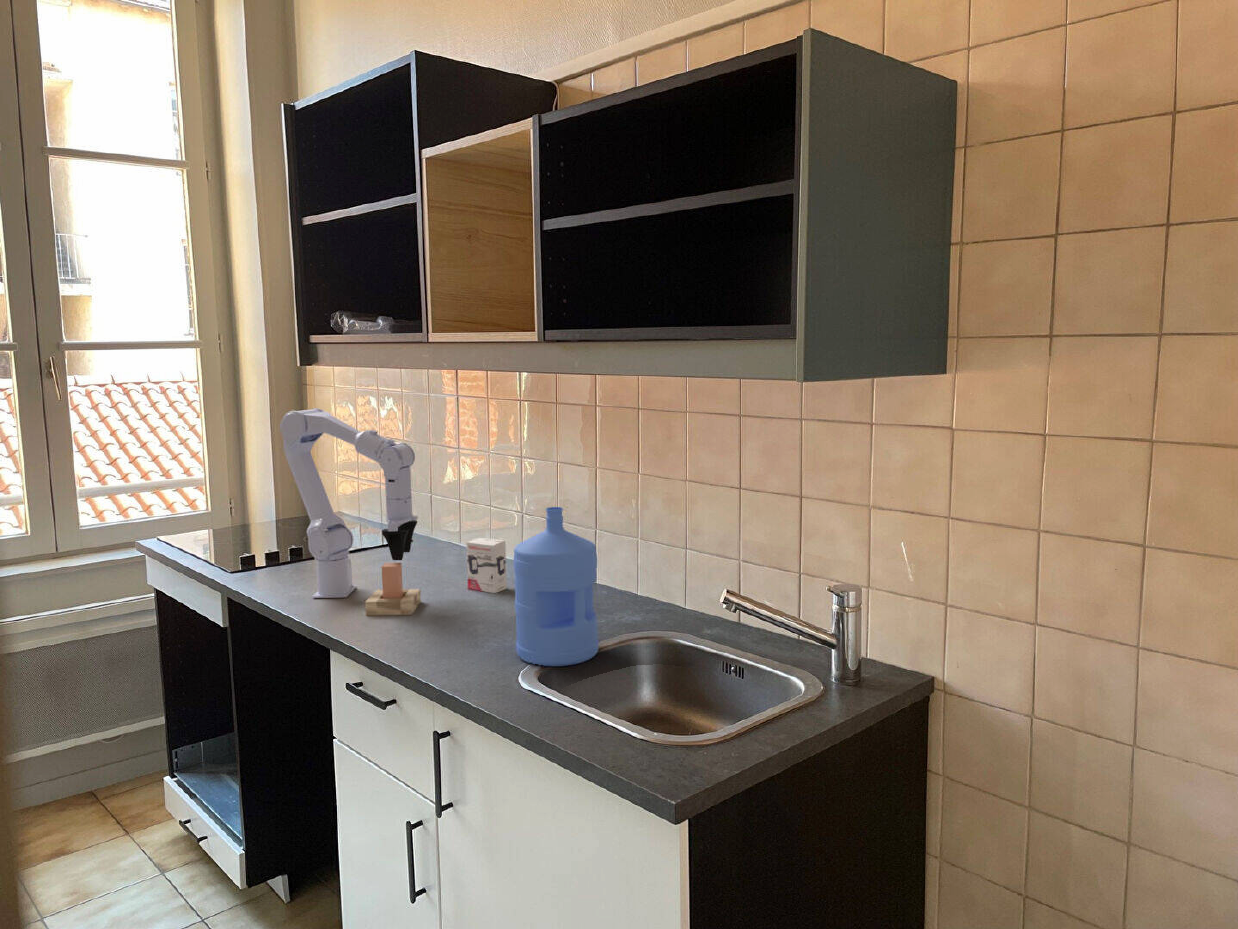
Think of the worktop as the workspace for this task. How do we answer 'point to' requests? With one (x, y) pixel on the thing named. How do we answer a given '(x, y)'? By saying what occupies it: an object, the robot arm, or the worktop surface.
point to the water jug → (555, 596)
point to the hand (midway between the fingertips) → (401, 556)
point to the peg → (392, 580)
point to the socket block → (393, 603)
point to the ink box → (486, 565)
